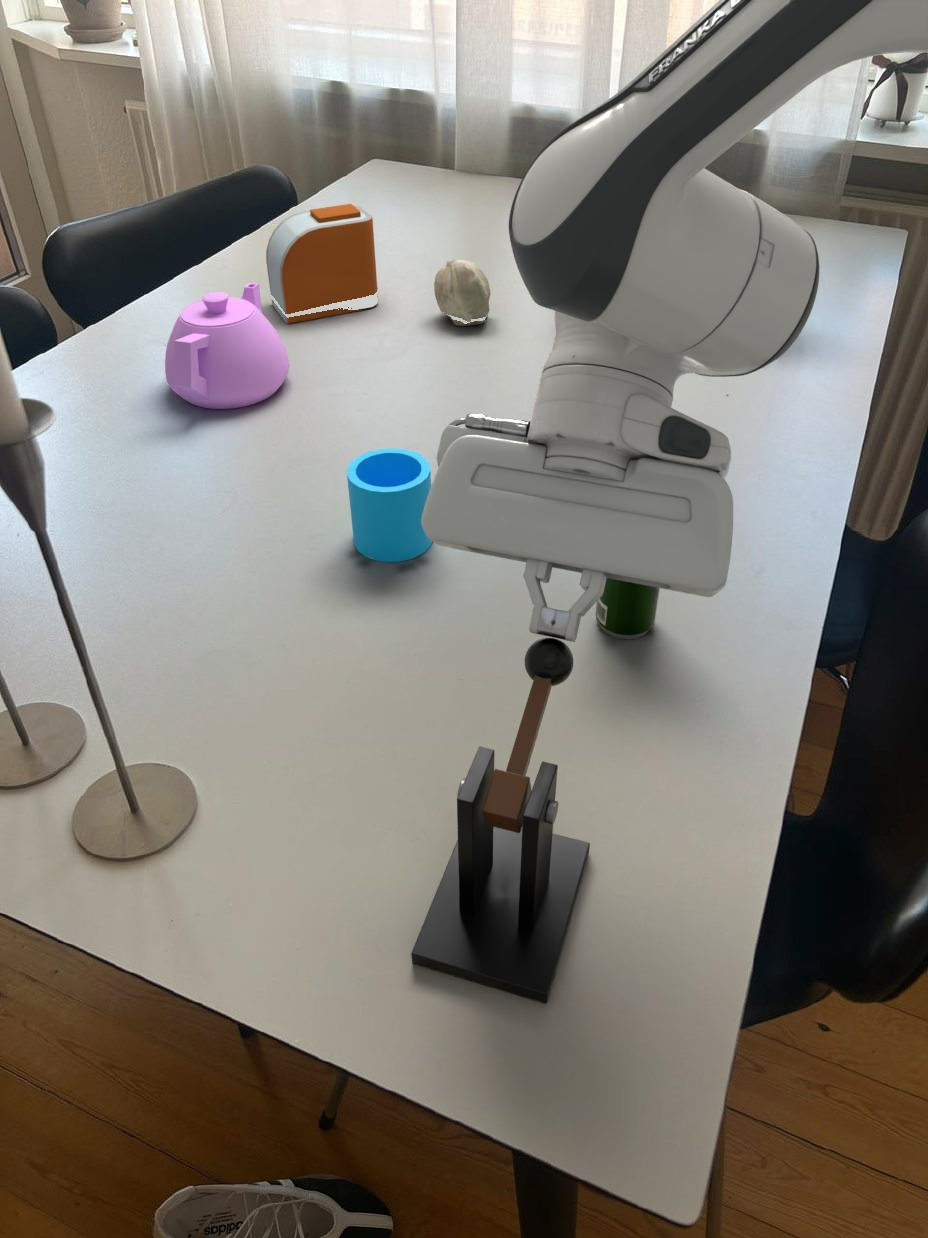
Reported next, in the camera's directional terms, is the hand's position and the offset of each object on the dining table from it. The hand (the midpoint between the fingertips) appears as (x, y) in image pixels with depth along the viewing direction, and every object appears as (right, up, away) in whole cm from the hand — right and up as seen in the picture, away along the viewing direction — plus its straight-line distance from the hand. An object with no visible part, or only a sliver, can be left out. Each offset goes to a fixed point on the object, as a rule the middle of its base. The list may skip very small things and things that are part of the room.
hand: (551, 637), depth 63 cm
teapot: (-36, +31, +63) cm, 79 cm away
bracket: (-3, -18, +3) cm, 19 cm away
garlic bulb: (-6, +45, +79) cm, 91 cm away
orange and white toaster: (-27, +49, +84) cm, 100 cm away
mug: (-12, +10, +38) cm, 41 cm away
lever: (-1, -7, 0) cm, 7 cm away
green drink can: (+9, +1, +26) cm, 27 cm away
